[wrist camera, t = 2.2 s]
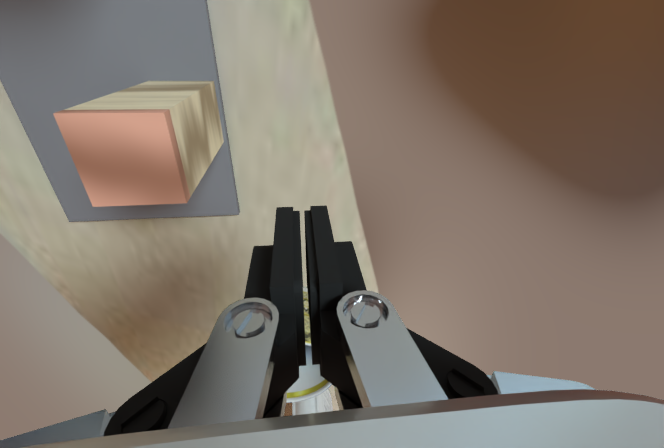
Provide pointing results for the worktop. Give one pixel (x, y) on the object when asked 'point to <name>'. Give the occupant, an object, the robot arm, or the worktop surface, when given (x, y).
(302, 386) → the ceramic cup
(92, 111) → the maple block
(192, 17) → the rubber mat
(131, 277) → the worktop surface
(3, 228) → the worktop surface
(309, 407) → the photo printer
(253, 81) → the worktop surface
